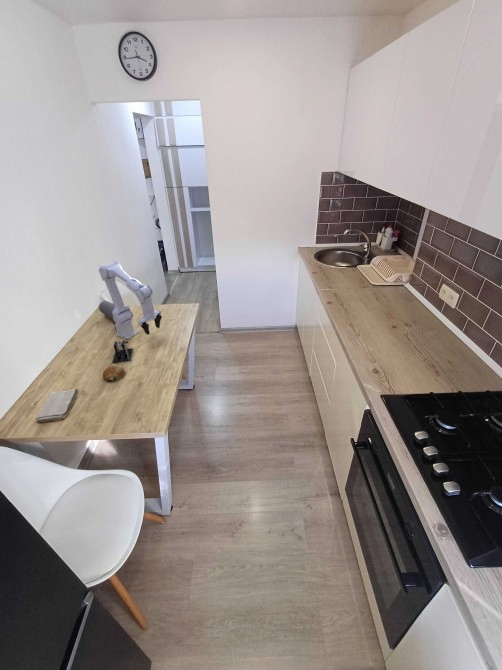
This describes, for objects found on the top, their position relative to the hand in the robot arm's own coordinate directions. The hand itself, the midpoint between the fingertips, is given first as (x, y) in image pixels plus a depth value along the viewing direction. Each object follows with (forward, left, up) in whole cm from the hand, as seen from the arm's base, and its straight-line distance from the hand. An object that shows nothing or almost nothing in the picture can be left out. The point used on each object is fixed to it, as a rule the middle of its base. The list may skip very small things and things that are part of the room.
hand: (153, 330), depth 173 cm
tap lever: (-11, -13, -5) cm, 18 cm away
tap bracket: (-9, -16, -10) cm, 21 cm away
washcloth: (-6, -56, -10) cm, 57 cm away
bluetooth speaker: (-48, +13, -10) cm, 51 cm away
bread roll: (0, -30, -10) cm, 31 cm away
